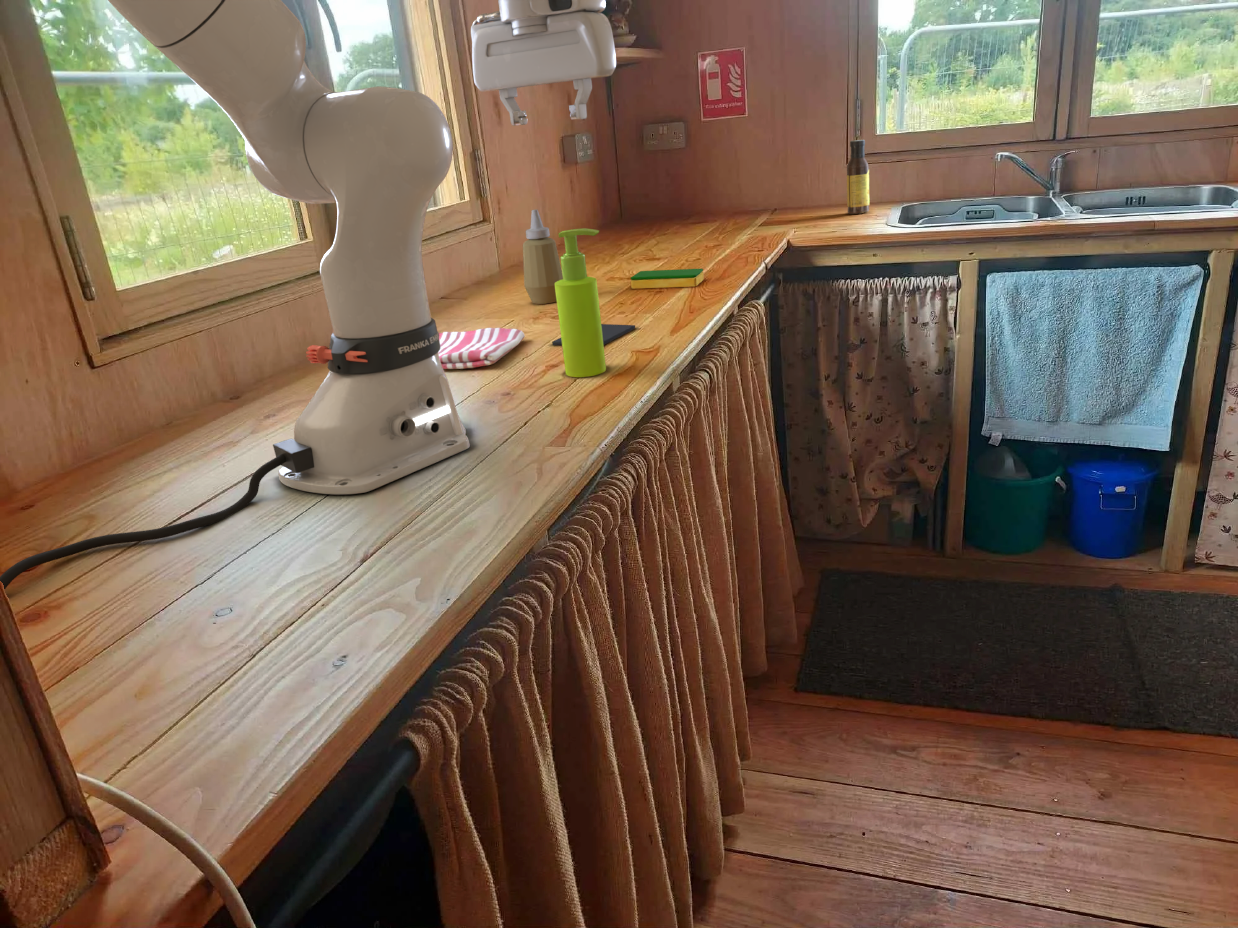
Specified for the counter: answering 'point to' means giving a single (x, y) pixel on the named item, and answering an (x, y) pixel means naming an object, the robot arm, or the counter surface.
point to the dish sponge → (667, 278)
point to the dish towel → (476, 347)
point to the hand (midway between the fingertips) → (548, 122)
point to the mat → (608, 332)
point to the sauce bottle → (857, 179)
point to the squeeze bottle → (540, 262)
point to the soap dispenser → (579, 311)
